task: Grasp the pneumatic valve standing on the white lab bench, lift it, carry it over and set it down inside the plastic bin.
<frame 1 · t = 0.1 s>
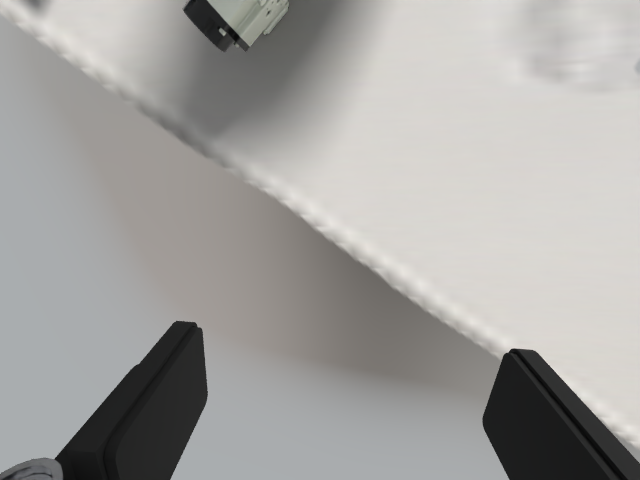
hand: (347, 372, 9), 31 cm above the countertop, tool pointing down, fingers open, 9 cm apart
pneumatic valve: (270, 14, 33), on the countertop
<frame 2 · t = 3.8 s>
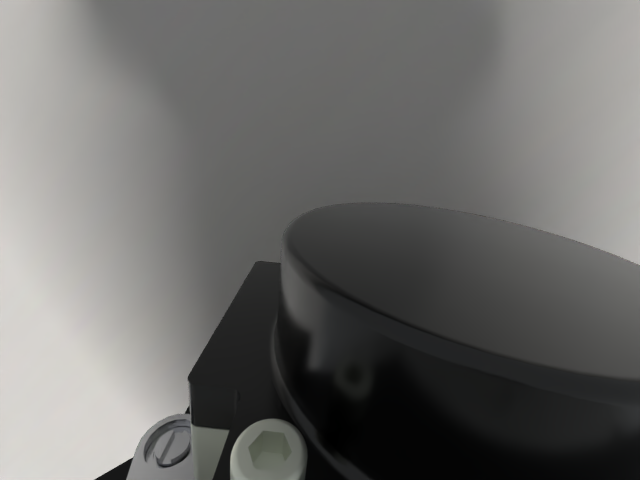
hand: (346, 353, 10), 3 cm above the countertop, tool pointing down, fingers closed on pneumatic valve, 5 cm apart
pneumatic valve: (343, 303, 13), on the countertop, touching gripper
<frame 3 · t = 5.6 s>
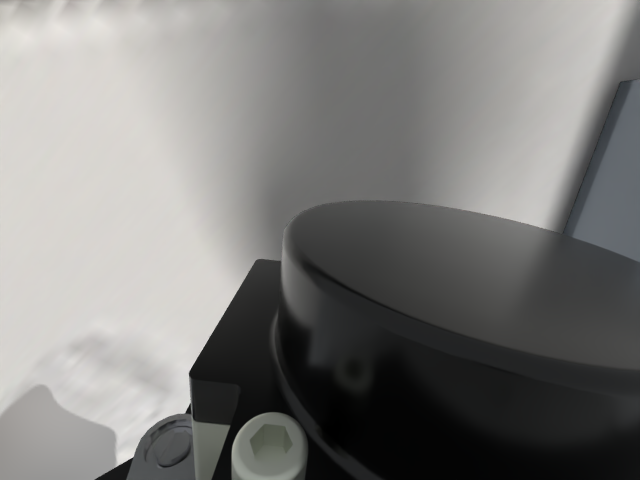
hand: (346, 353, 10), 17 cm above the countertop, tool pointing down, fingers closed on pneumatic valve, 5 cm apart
pneumatic valve: (343, 302, 13), point 14 cm above the countertop, touching gripper
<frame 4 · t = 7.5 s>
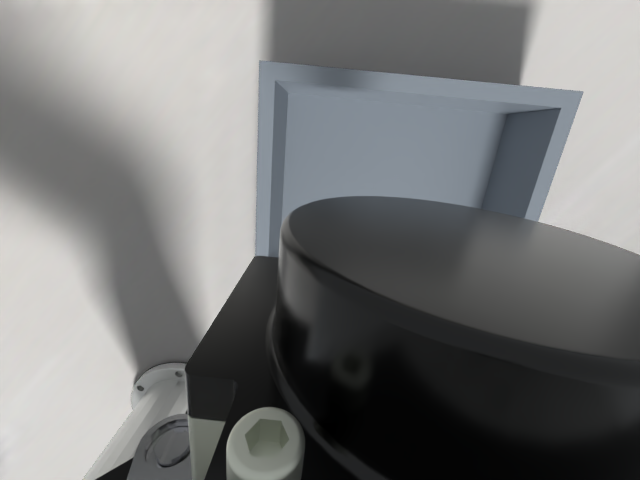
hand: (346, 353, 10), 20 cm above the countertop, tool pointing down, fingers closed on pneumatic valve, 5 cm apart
pneumatic valve: (343, 300, 13), point 16 cm above the countertop, touching gripper
parts bin: (377, 218, 29), on the countertop
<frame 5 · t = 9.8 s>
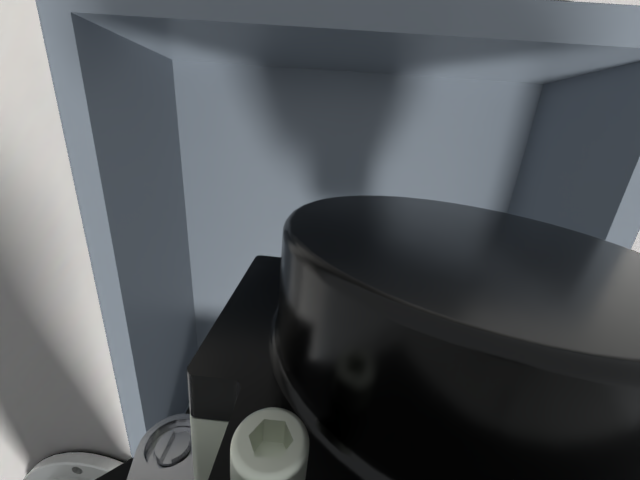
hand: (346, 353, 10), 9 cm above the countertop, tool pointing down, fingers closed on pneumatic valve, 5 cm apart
pneumatic valve: (343, 300, 13), point 6 cm above the countertop, touching gripper
parts bin: (338, 254, 19), on the countertop
when the fingers open (6 cm above the countertop, at t = 11.3 s): pneumatic valve drops 2 cm, resting on parts bin.
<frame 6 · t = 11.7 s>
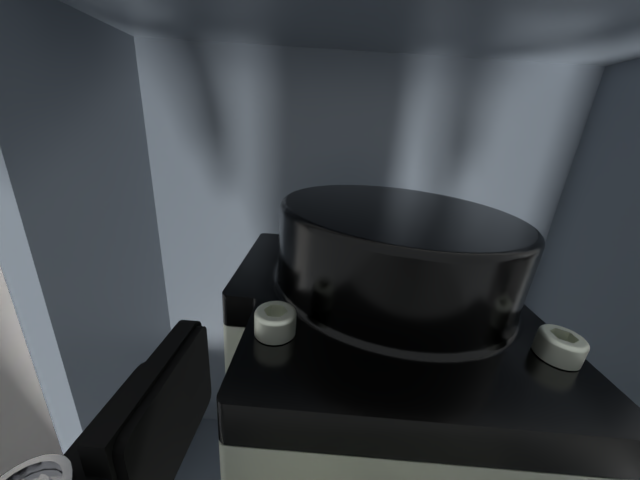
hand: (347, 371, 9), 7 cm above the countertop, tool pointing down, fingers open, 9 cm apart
pneumatic valve: (336, 281, 15), point 1 cm above the countertop, touching parts bin
parts bin: (341, 274, 16), on the countertop
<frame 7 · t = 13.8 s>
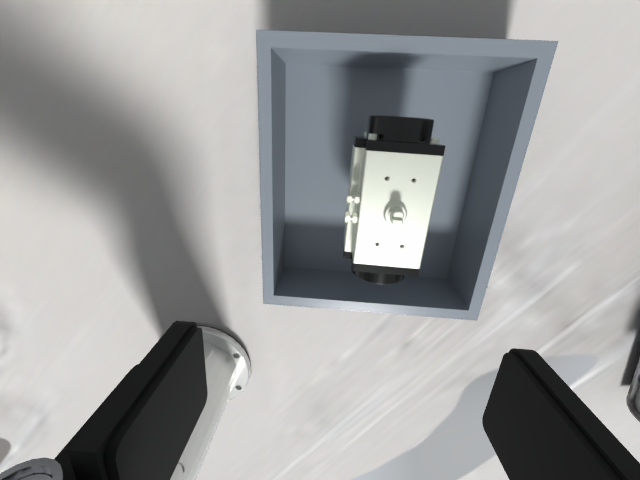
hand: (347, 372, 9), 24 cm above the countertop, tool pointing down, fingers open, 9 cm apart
pneumatic valve: (372, 182, 30), point 1 cm above the countertop, touching parts bin
parts bin: (374, 181, 30), on the countertop
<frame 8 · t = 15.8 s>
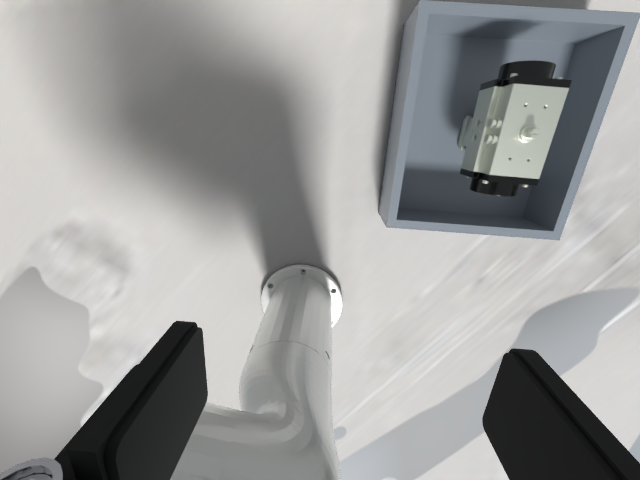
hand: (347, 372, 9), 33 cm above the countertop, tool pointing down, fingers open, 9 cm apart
pneumatic valve: (469, 133, 37), point 1 cm above the countertop, touching parts bin
parts bin: (469, 133, 38), on the countertop
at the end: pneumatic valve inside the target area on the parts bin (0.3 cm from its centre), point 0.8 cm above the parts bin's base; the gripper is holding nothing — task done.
